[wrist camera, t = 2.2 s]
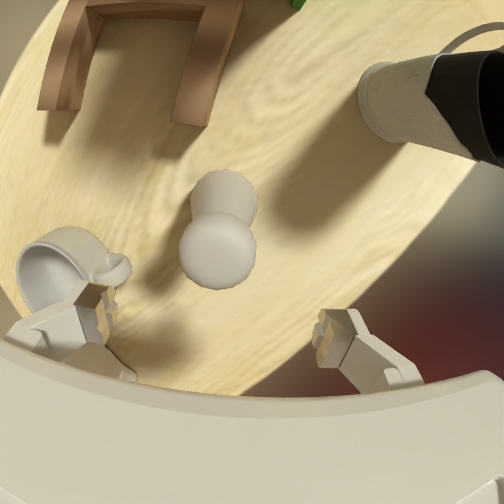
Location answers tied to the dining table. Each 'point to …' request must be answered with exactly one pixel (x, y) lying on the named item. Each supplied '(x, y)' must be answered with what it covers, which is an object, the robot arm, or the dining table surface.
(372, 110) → the tall mug
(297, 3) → the hardback book
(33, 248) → the teacup
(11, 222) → the dining table surface
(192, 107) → the walnut holder
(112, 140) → the dining table surface
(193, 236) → the salt shaker
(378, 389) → the robot arm
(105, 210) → the dining table surface
